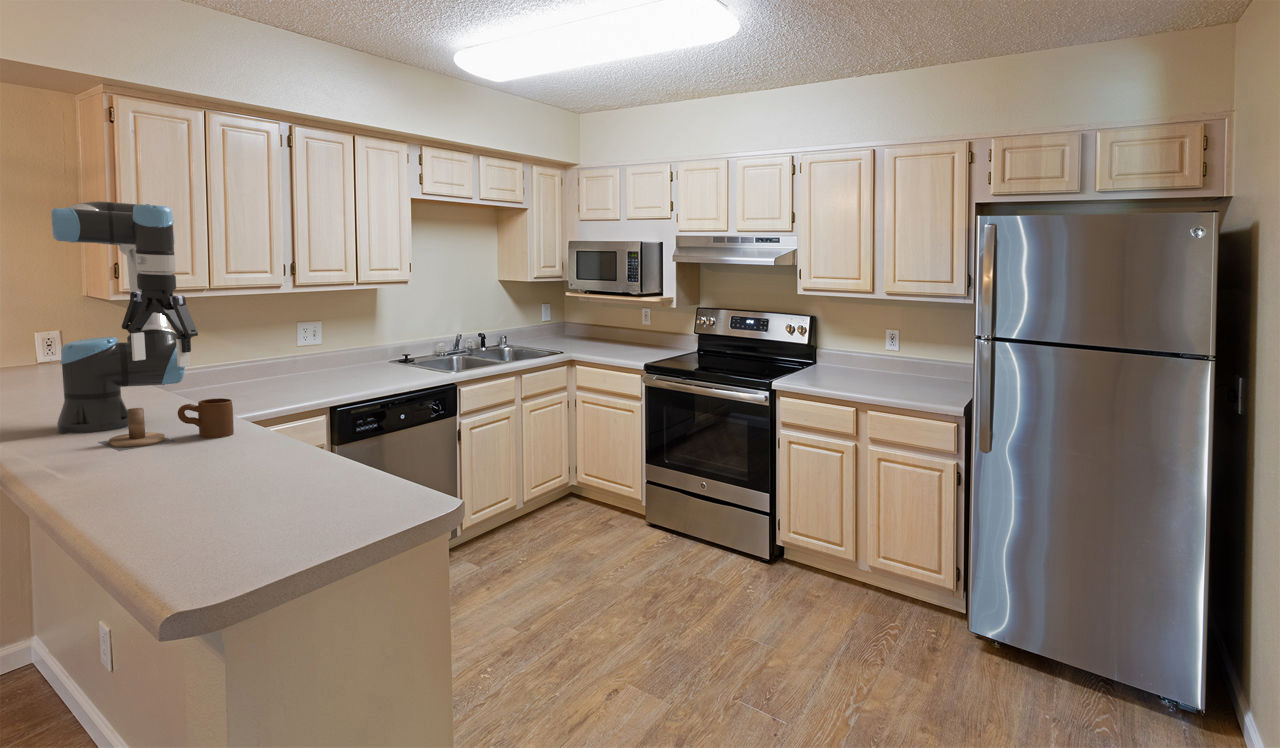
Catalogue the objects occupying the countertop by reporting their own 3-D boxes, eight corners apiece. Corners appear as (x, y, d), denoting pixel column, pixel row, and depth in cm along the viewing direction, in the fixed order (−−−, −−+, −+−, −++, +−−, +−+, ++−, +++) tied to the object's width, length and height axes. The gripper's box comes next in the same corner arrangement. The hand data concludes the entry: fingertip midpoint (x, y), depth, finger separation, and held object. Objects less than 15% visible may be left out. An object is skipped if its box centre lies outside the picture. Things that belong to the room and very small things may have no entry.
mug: (181, 444, 172) (179, 406, 171) (176, 438, 178) (174, 401, 176) (237, 438, 180) (235, 402, 179) (230, 432, 186) (228, 397, 184)
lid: (100, 442, 169) (98, 409, 168) (152, 434, 178) (150, 402, 177) (121, 450, 163) (119, 416, 162) (173, 441, 172) (171, 409, 171)
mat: (97, 444, 169) (97, 441, 169) (153, 435, 179) (153, 433, 179) (120, 453, 163) (119, 450, 162) (176, 443, 173) (176, 441, 172)
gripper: (99, 269, 164) (105, 359, 168) (184, 277, 157) (188, 370, 161) (130, 269, 171) (135, 355, 175) (212, 276, 164) (216, 366, 168)
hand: (161, 363), depth 168 cm, fingers open, 13 cm apart
